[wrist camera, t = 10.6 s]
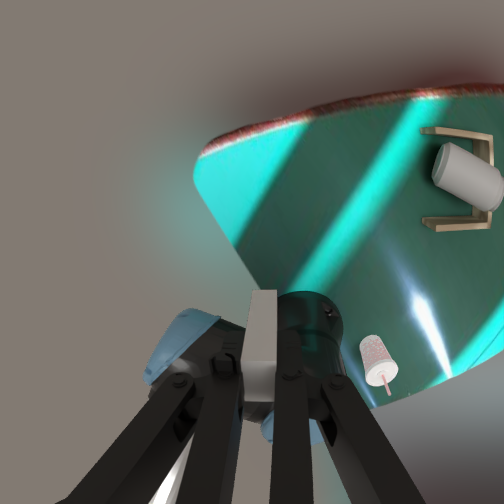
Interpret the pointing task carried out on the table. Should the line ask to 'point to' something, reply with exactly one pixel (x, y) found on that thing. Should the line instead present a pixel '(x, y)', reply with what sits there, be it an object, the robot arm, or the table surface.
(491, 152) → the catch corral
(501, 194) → the can
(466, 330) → the table surface
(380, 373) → the beverage cup
